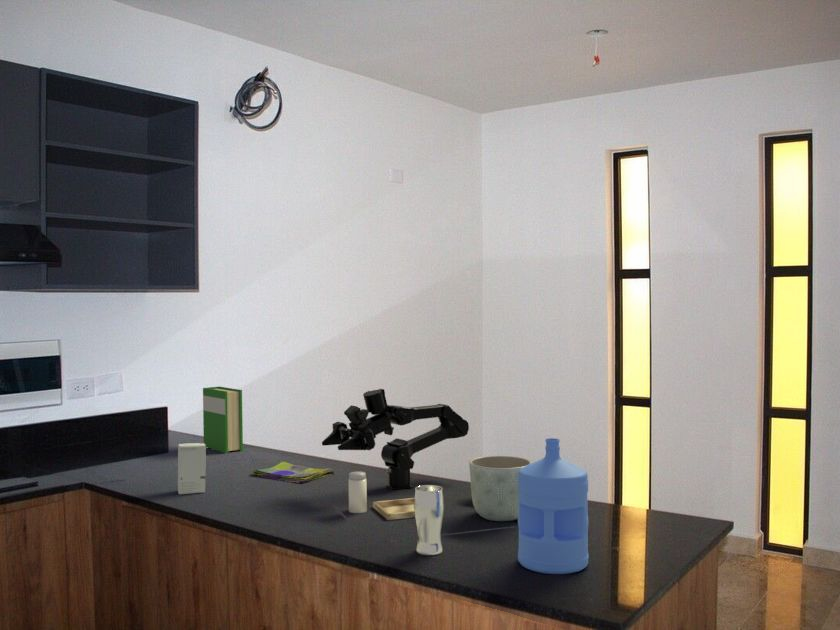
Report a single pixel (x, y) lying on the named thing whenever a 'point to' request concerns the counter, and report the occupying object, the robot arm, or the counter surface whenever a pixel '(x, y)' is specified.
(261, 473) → the dish towel
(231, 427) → the hardback book
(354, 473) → the ball
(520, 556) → the water jug
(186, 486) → the skincare box
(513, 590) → the counter surface
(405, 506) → the tray
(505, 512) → the planter
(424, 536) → the beer glass
